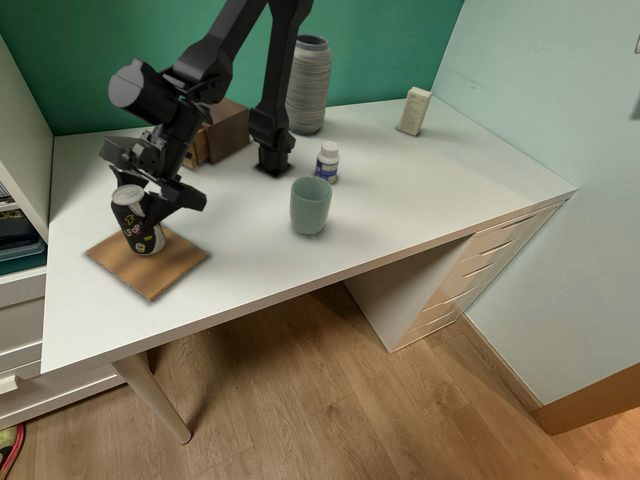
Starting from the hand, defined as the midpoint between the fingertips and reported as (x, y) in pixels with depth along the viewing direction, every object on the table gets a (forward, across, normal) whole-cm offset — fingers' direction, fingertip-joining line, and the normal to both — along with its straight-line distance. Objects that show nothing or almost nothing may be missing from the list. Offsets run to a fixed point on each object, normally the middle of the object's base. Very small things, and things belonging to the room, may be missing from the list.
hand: (130, 223), depth 53 cm
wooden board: (+5, +1, +6) cm, 8 cm away
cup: (-12, +18, +23) cm, 32 cm away
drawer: (-13, -17, +23) cm, 31 cm away
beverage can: (+4, 0, +6) cm, 7 cm away
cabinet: (-18, -17, +29) cm, 39 cm away
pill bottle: (-24, +12, +35) cm, 44 cm away
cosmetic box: (-52, +17, +63) cm, 83 cm away
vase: (-36, -7, +47) cm, 59 cm away
